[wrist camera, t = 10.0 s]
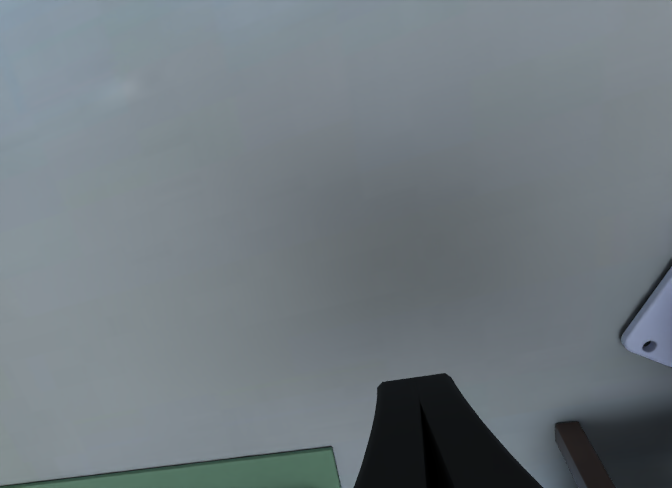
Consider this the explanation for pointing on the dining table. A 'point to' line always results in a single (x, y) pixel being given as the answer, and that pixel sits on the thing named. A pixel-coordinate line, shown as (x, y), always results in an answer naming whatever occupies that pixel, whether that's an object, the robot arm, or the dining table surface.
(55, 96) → the dining table surface
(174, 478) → the mat
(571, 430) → the table
